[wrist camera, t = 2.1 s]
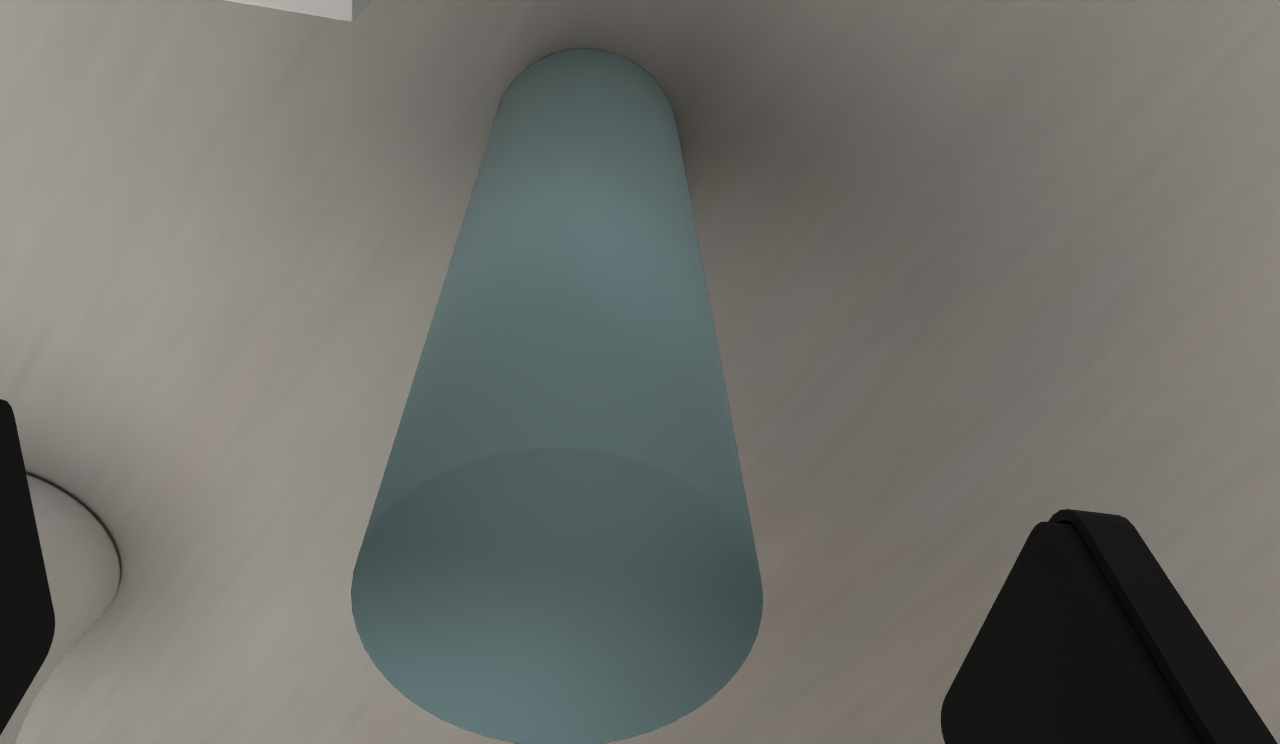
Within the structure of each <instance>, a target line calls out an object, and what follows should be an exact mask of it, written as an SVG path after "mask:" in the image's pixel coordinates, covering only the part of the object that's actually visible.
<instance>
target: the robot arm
mask: <svg viewBox="0 0 1280 744" xmlns="http://www.w3.org/2000/svg"><path fill="white" fill-rule="evenodd" d="M54 632H55V613H54V609H53V604H52V599H51V594H50V589H49V584H48V579H47V574H46V569H45V564H44V559H43V555H42V550H41V545H40V540H39V535H38V530H37V525H36V520H35V515H34V510H33V506H32V501H31V496H30V491H29V486H28V481H27V476H26V471H25V466H24V461H23V456H22V452H21V447H20V442H19V437H18V432H17V427H16V422H15V417H14V413H13V410H12V407H11V406H10V405H9V403H8V402H7V401H4V400H1V399H0V735H1V734H2V732H3V730H4V729H5V727H6V725H7V724H8V722H9V720H10V718H11V717H12V715H13V713H14V712H15V710H16V708H17V707H18V705H19V703H20V702H21V700H22V698H23V697H24V695H25V693H26V691H27V690H28V688H29V686H30V685H31V683H32V681H33V680H34V678H35V676H36V675H37V673H38V671H39V669H40V668H41V666H42V664H43V663H44V661H45V659H46V657H47V655H48V653H49V650H50V648H51V645H52V642H53V637H54ZM941 728H942V734H943V738H944V741H945V744H1277V742H1276V741H1275V739H1274V738H1273V736H1272V735H1271V733H1270V732H1269V730H1268V729H1267V727H1266V726H1265V724H1264V722H1263V721H1262V719H1261V718H1260V716H1259V715H1258V713H1257V712H1256V710H1255V709H1254V707H1253V706H1252V704H1251V703H1250V701H1249V700H1248V698H1247V697H1246V695H1245V694H1244V692H1243V691H1242V689H1241V688H1240V686H1239V685H1238V683H1237V682H1236V680H1235V679H1234V677H1233V676H1232V674H1231V673H1230V671H1229V670H1228V668H1227V666H1226V665H1225V663H1224V662H1223V660H1222V659H1221V657H1220V656H1219V654H1218V653H1217V651H1216V650H1215V648H1214V647H1213V645H1212V644H1211V642H1210V641H1209V639H1208V638H1207V636H1206V635H1205V633H1204V632H1203V630H1202V629H1201V627H1200V626H1199V624H1198V623H1197V621H1196V620H1195V618H1194V617H1193V615H1192V613H1191V612H1190V610H1189V609H1188V607H1187V606H1186V604H1185V603H1184V601H1183V600H1182V598H1181V597H1180V595H1179V594H1178V592H1177V591H1176V589H1175V588H1174V586H1173V585H1172V583H1171V582H1170V580H1169V579H1168V577H1167V576H1166V574H1165V573H1164V571H1163V570H1162V568H1161V567H1160V565H1159V564H1158V562H1157V561H1156V559H1155V557H1154V556H1153V554H1152V553H1151V551H1150V550H1149V548H1148V547H1147V545H1146V544H1145V542H1144V541H1143V539H1142V538H1141V536H1140V535H1139V533H1138V532H1137V530H1136V529H1135V527H1134V526H1133V525H1132V524H1131V523H1130V522H1129V521H1128V519H1126V518H1124V517H1122V516H1119V515H1112V514H1104V513H1095V512H1087V511H1079V510H1070V509H1065V510H1060V511H1058V512H1057V513H1055V514H1054V515H1053V516H1052V517H1051V519H1050V520H1049V521H1048V522H1040V523H1039V524H1037V525H1036V526H1035V527H1034V529H1033V530H1032V531H1031V533H1030V535H1029V537H1028V539H1027V541H1026V543H1025V545H1024V547H1023V548H1022V550H1021V552H1020V554H1019V556H1018V558H1017V560H1016V562H1015V564H1014V566H1013V568H1012V570H1011V572H1010V573H1009V575H1008V577H1007V579H1006V581H1005V583H1004V585H1003V587H1002V589H1001V591H1000V593H999V595H998V597H997V599H996V600H995V602H994V604H993V606H992V608H991V610H990V612H989V614H988V616H987V618H986V620H985V622H984V624H983V625H982V627H981V629H980V631H979V633H978V635H977V637H976V639H975V641H974V643H973V645H972V647H971V649H970V650H969V652H968V654H967V656H966V658H965V660H964V662H963V664H962V666H961V668H960V670H959V672H958V674H957V676H956V677H955V679H954V681H953V683H952V685H951V687H950V689H949V691H948V693H947V695H946V697H945V699H944V702H943V705H942V711H941Z"/></svg>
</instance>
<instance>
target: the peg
mask: <svg viewBox="0 0 1280 744" xmlns="http://www.w3.org/2000/svg"><path fill="white" fill-rule="evenodd" d="M351 599H352V612H353V616H354V620H355V624H356V629H357V632H358V634H359V636H360V639H361V641H362V643H363V646H364V648H365V650H366V651H367V653H368V654H369V656H370V658H371V659H372V661H373V662H374V664H375V666H376V667H377V668H378V669H379V670H380V672H381V673H382V674H383V675H384V676H385V677H386V679H387V680H388V681H389V682H390V683H391V684H392V685H393V686H394V687H395V688H397V689H398V690H399V691H400V692H401V693H402V694H403V695H404V696H405V697H407V698H408V699H410V700H411V701H412V702H414V703H415V704H417V705H418V706H420V707H421V708H422V709H424V710H426V711H427V712H429V713H431V714H433V715H435V716H436V717H438V718H440V719H442V720H444V721H446V722H448V723H451V724H453V725H455V726H458V727H460V728H462V729H464V730H467V731H471V732H474V733H477V734H480V735H483V736H486V737H490V738H494V739H499V740H503V741H508V742H513V743H521V744H600V743H608V742H612V741H617V740H622V739H626V738H631V737H634V736H637V735H640V734H643V733H647V732H650V731H653V730H655V729H658V728H660V727H662V726H665V725H667V724H669V723H672V722H674V721H676V720H678V719H679V718H681V717H683V716H685V715H687V714H688V713H690V712H692V711H694V710H695V709H696V708H698V707H699V706H701V705H702V704H704V703H705V702H706V701H708V700H709V699H711V698H712V697H713V696H714V695H715V694H716V693H717V692H718V691H719V690H721V689H722V688H723V687H724V686H725V685H726V684H727V683H728V682H729V680H730V679H731V678H732V677H733V676H734V675H735V673H736V672H737V671H738V670H739V669H740V667H741V665H742V664H743V662H744V661H745V659H746V657H747V656H748V654H749V653H750V650H751V648H752V646H753V643H754V641H755V639H756V636H757V634H758V630H759V625H760V621H761V617H762V604H763V592H762V584H761V576H760V571H759V565H758V560H757V555H756V549H755V544H754V538H753V533H752V528H751V522H750V517H749V512H748V506H747V501H746V495H745V490H744V485H743V479H742V474H741V469H740V463H739V458H738V452H737V447H736V442H735V436H734V431H733V425H732V420H731V415H730V409H729V404H728V399H727V393H726V388H725V382H724V377H723V372H722V366H721V361H720V355H719V350H718V345H717V339H716V334H715V329H714V323H713V318H712V312H711V307H710V302H709V296H708V291H707V286H706V280H705V275H704V269H703V264H702V259H701V253H700V248H699V242H698V237H697V232H696V226H695V221H694V216H693V210H692V205H691V199H690V194H689V189H688V183H687V178H686V172H685V167H684V162H683V156H682V151H681V146H680V140H679V135H678V129H677V124H676V120H675V116H674V113H673V109H672V107H671V105H670V102H669V100H668V98H667V97H666V95H665V93H664V92H663V90H662V88H661V87H660V86H659V85H658V83H657V82H656V81H655V80H654V79H653V78H652V77H651V76H650V75H649V74H648V73H647V72H646V71H645V70H644V69H642V68H641V67H640V66H638V65H637V64H635V63H634V62H632V61H630V60H628V59H626V58H625V57H622V56H620V55H617V54H614V53H611V52H607V51H603V50H597V49H571V50H565V51H561V52H557V53H554V54H551V55H549V56H546V57H544V58H542V59H540V60H538V61H537V62H535V63H534V64H532V65H531V66H529V67H528V68H527V69H525V70H524V71H523V72H522V73H521V74H520V75H519V76H518V77H517V78H516V79H515V80H514V81H513V83H512V84H511V85H510V87H509V88H508V90H507V91H506V93H505V95H504V97H503V99H502V101H501V103H500V105H499V109H498V112H497V115H496V118H495V121H494V124H493V128H492V131H491V134H490V137H489V140H488V144H487V147H486V150H485V153H484V156H483V160H482V163H481V166H480V169H479V172H478V175H477V179H476V182H475V185H474V188H473V191H472V195H471V198H470V201H469V204H468V207H467V211H466V214H465V217H464V220H463V223H462V227H461V230H460V233H459V236H458V239H457V243H456V246H455V249H454V252H453V255H452V259H451V262H450V265H449V268H448V271H447V274H446V278H445V281H444V284H443V287H442V290H441V294H440V297H439V300H438V303H437V306H436V310H435V313H434V316H433V319H432V322H431V326H430V329H429V332H428V335H427V338H426V342H425V345H424V348H423V351H422V354H421V358H420V361H419V364H418V367H417V370H416V373H415V377H414V380H413V383H412V386H411V389H410V393H409V396H408V399H407V402H406V405H405V409H404V412H403V415H402V418H401V421H400V425H399V428H398V431H397V434H396V437H395V441H394V444H393V447H392V450H391V453H390V456H389V460H388V463H387V466H386V469H385V472H384V476H383V479H382V482H381V485H380V488H379V492H378V495H377V498H376V501H375V504H374V508H373V511H372V514H371V517H370V520H369V524H368V527H367V530H366V533H365V536H364V540H363V543H362V546H361V549H360V552H359V555H358V559H357V562H356V565H355V568H354V572H353V580H352V588H351Z"/></svg>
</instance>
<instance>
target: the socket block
mask: <svg viewBox="0 0 1280 744" xmlns="http://www.w3.org/2000/svg"><path fill="white" fill-rule="evenodd" d="M226 1H232V2H238V3H244V4H250V5H256V6H261V7H267V8H273V9H279V10H285V11H291V12H297V13H303V14H308V15H314V16H320V17H326V18H332V19H338V20H344V21H349V22H352V21H353V20H354V19H355V18H356V17H357V16H358V15H359V14H360V13H361V12H362V11H363V10H364V9H365V8H366V7H367V6H368V5H369V4H370V3H371V2H372V1H373V0H226Z"/></svg>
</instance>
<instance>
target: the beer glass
mask: <svg viewBox="0 0 1280 744" xmlns="http://www.w3.org/2000/svg"><path fill="white" fill-rule="evenodd" d="M26 476H27V481H28V486H29V491H30V496H31V501H32V506H33V510H34V515H35V520H36V525H37V530H38V535H39V540H40V545H41V550H42V555H43V559H44V564H45V569H46V574H47V579H48V584H49V589H50V594H51V599H52V604H53V609H54V613H55V632H54V637H53V642H52V645H51V648H50V650H49V653H48V655H47V657H46V659H45V661H44V663H43V664H42V666H41V668H40V669H39V671H38V673H37V675H36V676H35V678H34V680H33V681H32V683H31V685H30V686H29V688H28V690H27V691H26V693H25V695H24V697H23V698H22V700H21V702H20V703H19V705H18V707H17V708H16V710H15V712H14V713H13V715H12V717H11V718H10V720H9V722H8V724H7V725H6V727H5V729H4V730H3V732H2V734H1V735H0V744H15V742H16V740H17V737H18V735H19V732H20V730H21V727H22V725H23V722H24V720H25V717H26V715H27V714H28V712H29V710H30V708H31V706H32V704H33V702H34V700H35V698H36V697H37V695H38V693H39V691H40V689H41V688H42V686H43V685H44V683H45V682H46V680H47V679H48V677H49V676H50V674H51V673H52V671H53V670H54V669H55V668H56V666H57V665H58V664H59V663H60V662H61V660H62V659H63V658H64V657H65V656H66V654H67V653H68V652H69V651H70V650H71V649H72V648H73V647H74V646H75V645H76V644H77V643H78V642H79V640H80V639H81V638H82V637H83V636H84V635H85V634H86V633H87V632H88V631H89V630H90V629H91V628H92V626H93V625H94V624H95V623H96V622H97V621H98V620H99V619H100V617H101V616H102V615H103V614H104V613H105V611H106V610H107V608H108V607H109V605H110V604H111V602H112V601H113V599H114V597H115V595H116V592H117V589H118V585H119V581H120V563H119V558H118V554H117V551H116V549H115V546H114V544H113V542H112V540H111V538H110V536H109V535H108V533H107V532H106V530H105V529H104V528H103V526H102V525H101V524H100V522H99V521H98V520H97V519H96V518H95V517H94V516H93V515H92V514H91V513H90V512H89V511H88V510H87V509H86V508H85V507H84V506H83V505H81V504H80V503H79V502H78V501H76V500H75V499H74V498H72V497H71V496H69V495H68V494H66V493H65V492H63V491H62V490H60V489H58V488H56V487H55V486H53V485H51V484H49V483H47V482H45V481H42V480H40V479H38V478H35V477H33V476H30V475H27V474H26Z"/></svg>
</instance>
